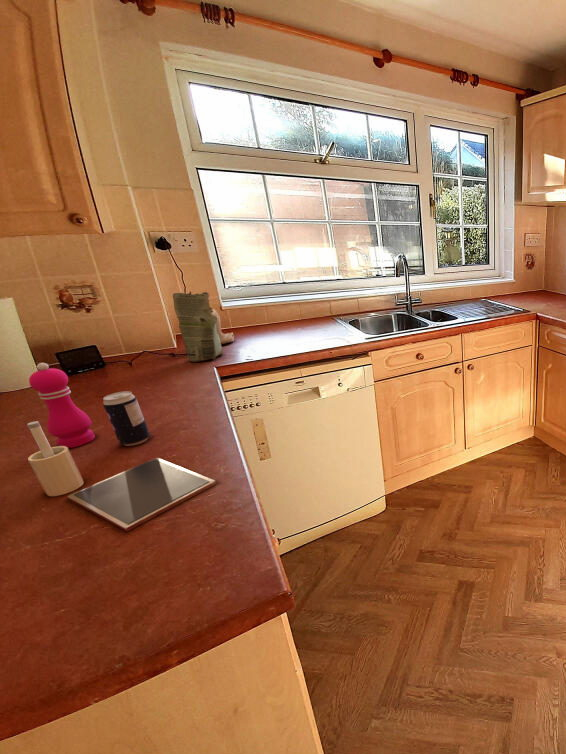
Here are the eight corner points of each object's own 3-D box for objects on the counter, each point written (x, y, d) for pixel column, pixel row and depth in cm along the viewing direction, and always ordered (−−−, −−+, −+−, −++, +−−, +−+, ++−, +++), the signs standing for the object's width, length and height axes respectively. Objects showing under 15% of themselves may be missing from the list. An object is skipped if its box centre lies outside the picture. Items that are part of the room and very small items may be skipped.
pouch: (188, 357, 160) (166, 291, 150) (225, 351, 167) (206, 287, 157) (190, 365, 152) (167, 295, 142) (228, 358, 159) (209, 291, 149)
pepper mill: (52, 444, 100) (14, 364, 93) (93, 431, 106) (59, 355, 98) (60, 452, 96) (20, 370, 89) (101, 439, 102) (67, 361, 94)
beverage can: (143, 433, 104) (126, 389, 100) (156, 438, 102) (138, 392, 97) (115, 444, 99) (95, 398, 95) (128, 449, 97) (108, 402, 92)
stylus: (61, 488, 82) (29, 425, 77) (57, 487, 83) (25, 423, 78) (70, 484, 84) (39, 422, 78) (67, 483, 84) (36, 420, 79)
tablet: (126, 532, 72) (124, 527, 71) (68, 499, 80) (66, 495, 80) (216, 483, 84) (215, 480, 84) (158, 460, 93) (156, 456, 92)
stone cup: (197, 352, 166) (185, 314, 161) (192, 346, 175) (180, 310, 169) (240, 344, 176) (230, 308, 170) (233, 338, 184) (224, 304, 178)
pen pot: (53, 499, 80) (35, 463, 77) (41, 492, 82) (22, 456, 79) (89, 483, 85) (72, 449, 82) (76, 477, 87) (60, 443, 84)
